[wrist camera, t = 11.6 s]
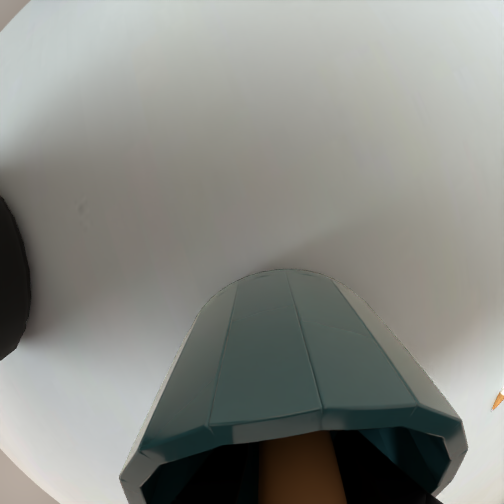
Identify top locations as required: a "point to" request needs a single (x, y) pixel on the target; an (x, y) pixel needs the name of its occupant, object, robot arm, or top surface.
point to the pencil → (499, 399)
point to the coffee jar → (12, 283)
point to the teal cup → (290, 387)
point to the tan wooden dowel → (300, 471)
